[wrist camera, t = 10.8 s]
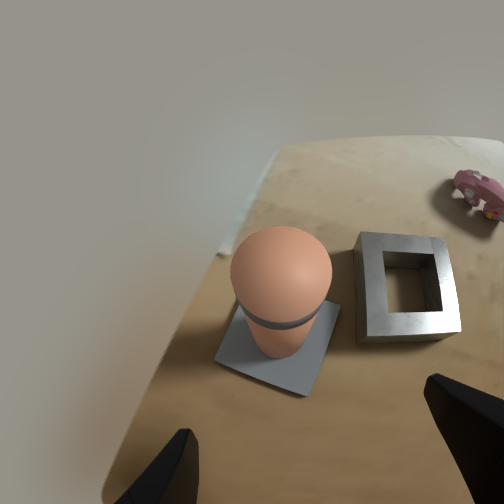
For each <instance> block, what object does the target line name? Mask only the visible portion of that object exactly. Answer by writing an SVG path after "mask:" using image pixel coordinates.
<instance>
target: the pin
mask: <svg viewBox="0 0 504 504" xmlns="http://www.w3.org/2000/svg"><path fill="white" fill-rule="evenodd" d="M230 274H231V281H232V285H233V288H234V292H235V294H236V297H237V299H238V302H239V304H240V306H241V308H242V310H243V313H244V315H245V318H246V320H247V323H248V325H249V327H250V330H251V332H252V335H253V337H254V339H255V342H256V344H257V346H258V348H259V349H260V350H261V351H262V352H263V353H264V354H265V355H267V356H269V357H271V358H276V359H283V358H287V357H290V356H292V355H294V354H295V353H296V352H297V351H298V350H299V349H300V348H301V346H302V344H303V342H304V340H305V338H306V336H307V334H308V332H309V330H310V328H311V326H312V324H313V322H314V320H315V318H316V316H317V314H318V311H319V310H320V308H321V306H322V304H323V302H324V300H325V297H326V295H327V292H328V290H329V287H330V284H331V279H332V265H331V261H330V258H329V255H328V253H327V251H326V250H325V248H324V247H323V245H322V244H321V243H320V242H319V241H318V240H317V239H316V238H315V237H313V236H312V235H310V234H309V233H307V232H305V231H303V230H300V229H297V228H293V227H286V226H276V227H270V228H266V229H263V230H260V231H258V232H256V233H254V234H252V235H251V236H249V237H248V238H247V239H246V240H245V241H244V242H243V243H242V244H241V245H240V246H239V248H238V249H237V251H236V252H235V254H234V257H233V259H232V263H231V270H230Z"/></svg>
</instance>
